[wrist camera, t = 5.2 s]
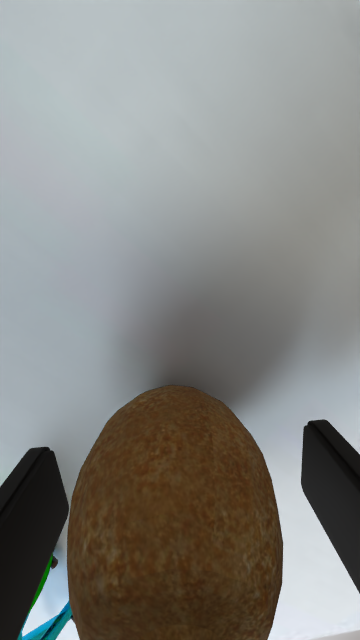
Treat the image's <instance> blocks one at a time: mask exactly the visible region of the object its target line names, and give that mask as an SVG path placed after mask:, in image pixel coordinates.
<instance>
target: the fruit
mask: <svg viewBox="0 0 360 640" xmlns="http://www.w3.org/2000/svg"><path fill="white" fill-rule="evenodd" d="M282 568H283V540H282V533H281V527H280V520H279V514H278V508H277V503H276V499H275V494H274V489H273V484H272V479H271V477H270V474H269V471H268V468H267V465H266V462H265V459H264V457H263V454H262V452H261V450H260V449H259V447H258V445H257V444H256V442H255V440H254V439H253V437H252V435H251V434H250V433H249V431H248V430H247V429H246V428H245V427H244V425H243V424H242V423H241V422H240V420H239V419H238V418H237V417H236V416H235V414H234V413H233V412H232V411H231V410H230V409H229V408H228V407H227V406H226V405H225V404H224V403H223V402H221V401H219V400H217V399H215V398H213V397H211V396H209V395H207V394H205V393H203V392H201V391H199V390H197V389H195V388H193V387H185V386H175V385H168V386H164V387H160V388H156V389H153V390H149V391H146V392H144V393H142V394H140V395H139V396H137V397H136V398H135V399H133V400H132V401H130V402H129V403H128V404H126V405H125V406H123V407H122V408H121V409H119V410H118V411H117V412H116V413H115V414H114V415H113V416H112V417H111V418H110V419H109V421H108V422H107V423H106V425H105V426H104V428H103V430H102V432H101V433H100V435H99V437H98V439H97V440H96V442H95V444H94V445H93V447H92V449H91V451H90V453H89V454H88V456H87V458H86V460H85V462H84V464H83V466H82V467H81V470H80V473H79V476H78V479H77V482H76V485H75V489H74V492H73V495H72V500H71V508H70V516H69V525H68V537H67V572H68V588H69V603H70V607H71V610H72V614H73V617H74V621H75V624H76V628H77V631H78V635H79V638H80V640H267V639H268V636H269V634H270V631H271V628H272V625H273V620H274V616H275V612H276V607H277V603H278V599H279V594H280V590H281V586H282Z"/></svg>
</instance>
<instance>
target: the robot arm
mask: <svg viewBox="0 0 360 640" xmlns="http://www.w3.org/2000/svg"><path fill="white" fill-rule="evenodd" d="M301 485H302V489H303V492H304V494H305V496H306V498H307V499H308V501H309V503H310V505H311V507H312V508H313V510H314V512H315V514H316V516H317V517H318V519H319V521H320V523H321V525H322V526H323V528H324V530H325V532H326V534H327V535H328V537H329V539H330V541H331V543H332V544H333V546H334V548H335V550H336V552H337V553H338V555H339V557H340V559H341V561H342V562H343V564H344V566H345V568H346V570H347V571H348V573H349V575H350V577H351V579H352V580H353V582H354V584H355V586H356V588H357V589H358V591H359V593H360V454H359V453H358V452H357V451H356V450H355V449H354V448H353V447H352V446H351V445H350V444H349V443H348V442H347V441H346V440H345V439H344V438H343V437H342V435H341V434H340V433H339V432H338V431H337V430H336V429H335V428H334V427H333V426H332V425H331V424H330V423H329V422H328V421H327V420H314V421H309V422H308V424H307V426H304V431H303V451H302V472H301ZM68 512H69V504H68V501H67V497H66V493H65V490H64V486H63V483H62V479H61V475H60V472H59V468H58V464H57V461H56V457H55V454H54V451H50V449H49V447H38V448H31V449H29V450H28V451H27V452H26V454H25V455H24V456H23V458H22V459H21V460H20V462H19V463H18V464H17V466H16V467H15V468H14V470H13V471H12V472H11V474H10V475H9V476H8V478H7V479H6V480H5V482H4V483H3V484H2V486H1V487H0V640H17V639H18V636H19V634H20V631H21V629H22V627H23V624H24V622H25V619H26V617H27V614H28V612H29V609H30V607H31V605H32V602H33V600H34V597H35V595H36V592H37V590H38V587H39V585H40V583H41V580H42V578H43V575H44V573H45V570H46V568H47V565H48V563H49V561H50V558H51V556H52V553H53V551H54V548H55V546H56V543H57V541H58V539H59V536H60V534H61V531H62V529H63V526H64V524H65V521H66V519H67V516H68Z"/></svg>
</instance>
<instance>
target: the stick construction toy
mask: <svg viewBox="0 0 360 640" xmlns="http://www.w3.org/2000/svg"><path fill="white" fill-rule="evenodd" d="M57 564H58V560H57V559H56V558H55V557H54V556H53V553H52V556H51V558H50V561H49V563H48V565H47V568H46V570H45V573H44V575H43V578H42V580H41V583H40V585H39V587H38V590H37V592H36V595H35V597H34V600H33V602H32V605H31V607H30V609H29V612H28V614H27V617H26V619H25V622H24V624H23V627H22V629H21V631H20V634H19V636H18V639H17V640H56V638H57V636H58V635H59V633H60V632H61V630H62V629H63V627H64V626H65V624H66V623H67V621H69V620H70V619H72V620H73V621H74V617H73V614H72V610H71V607H70V603H69V601H68V603H67V604H66V605H65V607H64V608H63V609H62V611H61V612H60V613H59V614H58V615H57V616H55V617H53V618H52V619H50V620H49V621H47V622H45V623H44V624H42V625H41V626H39V627H38V628H36V629H34V630H33V631H31V632H30V633H28V634H26V635H25V636H23V637H22V630H23V628H24V625H25V623H26V620H27V618H28V616H29V613H30V611H31V609H32V607H33V606H34V604H35V602H36V600H37V598H38V597H39V595H40V593H41V591H42V589H43V586H44V584H45V582H46V579H47V576H48V574H49V570H50V567H51V568H52V569H53V568H55V567H56V566H57ZM74 623H75V621H74Z"/></svg>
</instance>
